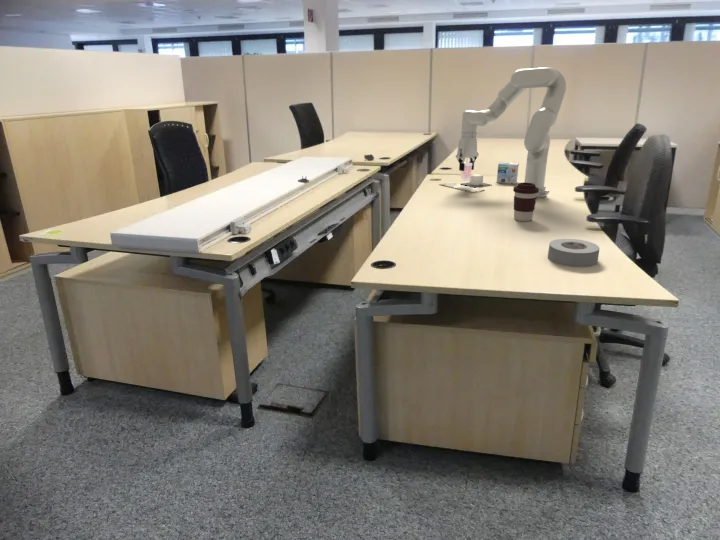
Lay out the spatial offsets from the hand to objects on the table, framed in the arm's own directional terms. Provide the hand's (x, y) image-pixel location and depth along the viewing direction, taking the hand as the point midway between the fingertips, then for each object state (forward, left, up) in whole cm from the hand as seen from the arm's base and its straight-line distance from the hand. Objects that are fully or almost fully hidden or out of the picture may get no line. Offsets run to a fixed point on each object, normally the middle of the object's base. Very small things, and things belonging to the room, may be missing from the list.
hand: (466, 169), depth 282 cm
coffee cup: (-62, +26, -10) cm, 68 cm away
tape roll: (-106, +53, -10) cm, 119 cm away
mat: (+4, -12, -10) cm, 16 cm away
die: (+4, -12, -10) cm, 16 cm away
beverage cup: (0, 0, -6) cm, 6 cm away
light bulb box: (0, -32, -10) cm, 34 cm away
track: (+3, 0, -10) cm, 11 cm away
